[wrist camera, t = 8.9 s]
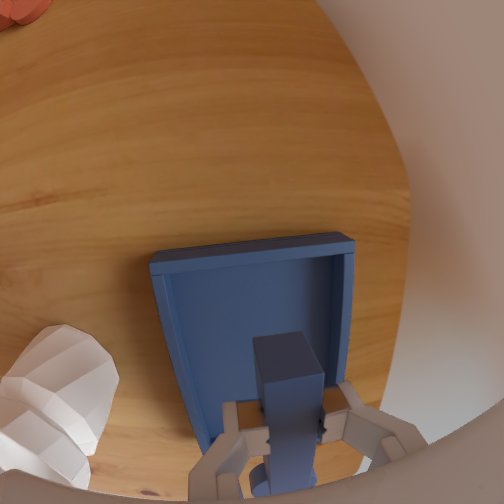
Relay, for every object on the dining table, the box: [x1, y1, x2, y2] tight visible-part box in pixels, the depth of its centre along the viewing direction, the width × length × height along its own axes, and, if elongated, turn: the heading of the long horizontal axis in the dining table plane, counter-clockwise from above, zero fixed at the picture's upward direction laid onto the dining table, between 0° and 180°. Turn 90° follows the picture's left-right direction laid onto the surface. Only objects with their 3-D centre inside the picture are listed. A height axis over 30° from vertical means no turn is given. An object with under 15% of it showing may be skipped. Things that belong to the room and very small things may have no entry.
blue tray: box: [148, 232, 355, 455], centre depth 21 cm, size 20×13×3 cm, turn 5°
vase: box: [0, 324, 120, 490], centre depth 15 cm, size 9×9×12 cm
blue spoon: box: [249, 331, 324, 497], centre depth 11 cm, size 13×4×3 cm, turn 4°
